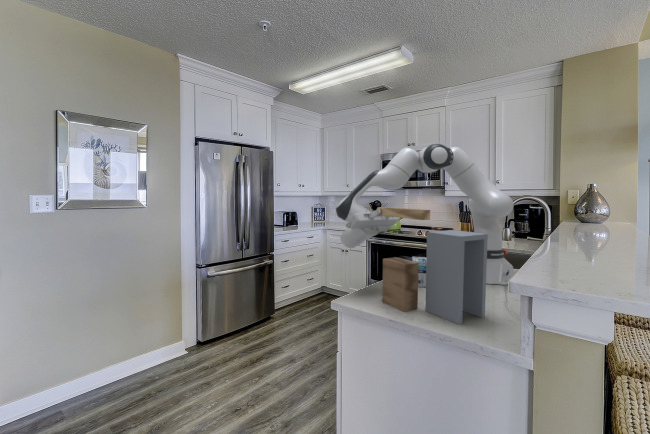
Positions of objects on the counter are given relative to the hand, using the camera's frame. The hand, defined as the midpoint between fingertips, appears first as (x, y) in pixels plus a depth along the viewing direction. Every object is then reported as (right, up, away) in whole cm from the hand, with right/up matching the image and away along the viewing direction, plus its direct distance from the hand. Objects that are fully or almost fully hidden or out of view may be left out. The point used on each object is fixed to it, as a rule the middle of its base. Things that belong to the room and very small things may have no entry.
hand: (385, 210), depth 116 cm
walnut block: (+4, -33, -5) cm, 33 cm away
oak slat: (+4, -2, -7) cm, 8 cm away
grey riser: (+19, -33, -13) cm, 41 cm away
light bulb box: (+19, -31, +21) cm, 42 cm away
